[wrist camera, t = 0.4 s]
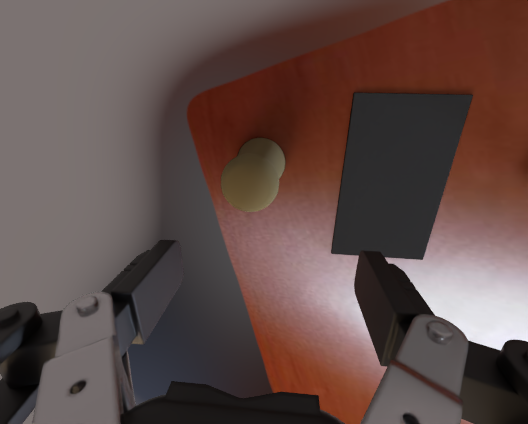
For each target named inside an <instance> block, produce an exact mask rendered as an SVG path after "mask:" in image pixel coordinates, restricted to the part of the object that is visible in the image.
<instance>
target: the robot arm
mask: <svg viewBox="0 0 528 424" xmlns="http://www.w3.org/2000/svg"><path fill="white" fill-rule="evenodd" d="M183 275H184V268H183V261H182V254H181V247H180V243H179V241H174V240H160V241H159V242H158V243H157V244H156V245H155V246H154V247H153V248H152V249H151V250H147V251H146V252H144V253H142V254H140V255H138V256H137V257H136V258H135V259H134V260H133V261H132V262H131V263H130V265H128V266H127V267H126V268H125V269H124V271H122V272H121V273H120V274H119V275H118V276H117V277H116V278H115V279H114V280H113V281H112V282H111V283H110V284H109V285H108V286H106V287H105V288H104V289H103V290H102V291H101V292H93V293H89V294H86V295H83V296H81V297H79V298H77V299H75V300H73V301H72V302H71V303H69V304H68V305H67V306H66V307H65V308H64V310H62V311H56V312H50V313H44V314H40V313H39V311H38V309H37V306H36V305H35V304H34V303H31V302H22V303H16V304H13V305H9V306H7V307H4V308H1V309H0V374H1V376H2V379H1V380H0V424H22V423H23V422H24V421H25V419H26V418H27V417H28V416H29V414H30V413H31V412H32V411H33V409H34V408H35V410H34V416H33V421H32V424H345V423H343V422H342V421H340V420H339V419H338V418H336V417H335V416H333V415H331V414H329V413H327V412H325V411H323V410H320V406H319V396H318V395H308V394H298V393H288V392H277V393H272V394H266V395H261V396H255V397H250V398H238V397H235V396H233V395H231V394H228V393H226V392H223V391H221V390H218V389H216V388H214V387H211V386H209V385H206V384H195V383H185V382H175V381H172V382H171V384H170V386H169V389H168V391H167V393H166V395H161V396H158V397H155V398H152V399H149V400H147V401H145V402H143V403H141V404H139V405H137V406H136V404H135V399H134V392H133V385H132V379H131V371H130V364H129V357H128V353H127V349H128V348H129V346H130V345H131V343H133V344H144V343H145V342H146V340H147V338H148V337H149V335H150V334H151V332H152V330H153V328H154V327H155V325H156V324H157V322H158V320H159V319H160V317H161V315H162V314H163V312H164V310H165V309H166V307H167V306H168V304H169V302H170V301H171V299H172V297H173V296H174V294H175V292H176V291H177V289H178V288H179V286H180V284H181V282H182V280H183ZM354 288H355V295H356V298H357V300H358V303H359V306H360V309H361V312H362V314H363V317H364V320H365V323H366V326H367V328H368V331H369V334H370V337H371V339H372V342H373V345H374V348H375V351H376V353H377V356H378V359H379V362H380V365H381V366H388V367H387V369H386V371H385V373H384V376H383V378H382V380H381V382H380V384H379V386H378V388H377V390H376V392H375V394H374V396H373V398H372V401H371V403H370V405H369V407H368V409H367V411H366V413H365V415H364V417H363V419H362V421H361V423H360V424H460V422H461V419H464V420H466V421H469V422H471V423H474V424H528V342H526V341H522V340H509V341H507V342H505V344H504V346H503V348H502V350H501V351H500V350H497V349H494V348H490V347H487V346H484V345H480V344H477V343H474V342H471V341H468V340H467V338H466V336H465V335H464V333H463V332H462V331H461V330H460V329H459V328H457V327H456V326H455V325H454V324H452V323H450V322H449V321H447V320H445V319H443V318H440V317H437V316H435V315H434V313H433V312H432V311H431V309H430V308H429V306H428V305H427V304H426V302H425V301H424V299H423V298H422V296H421V295H420V294H419V292H418V291H417V290H416V288H415V286H414V285H413V284H412V282H410V279H409V278H408V277H407V275H406V274H405V272H404V271H402V270H401V269H400V268H398V267H397V266H396V265H394V264H388V262H387V261H386V259H385V258H384V256H383V255H382V253H381V252H380V251H361V252H360V254H359V259H358V264H357V270H356V276H355V282H354Z"/></svg>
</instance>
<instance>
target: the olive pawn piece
mask: <svg viewBox="0 0 528 424" xmlns="http://www.w3.org/2000/svg"><path fill="white" fill-rule="evenodd" d="M284 168H285V157H284V154H283V152H282V150H281V148H280V147H279V146H278V145H277V144H276V143H275V142H274V141H271V140H269V139H267V138H255V139H251V140H249V141H248V142H246V143H245V144H244V145H243V146H242V147H241V148H240V150H239V153H238V155H237V157H235V158H234V159H232V160H231V161H230V162H229V163H228V164H227V165H226V166H225V168H224V170H223V173H222V175H221V188H222V192H223V195H224V197H225V198H226V200H227V201H228V202H229V203H230V204H231V205H232V206H233V207H235V208H237V209H239V210H241V211H246V212H255V211H260V210H262V209H264V208H266V207H267V206H268V205H269V204H270V203H271V202H272V201H273V200H274V199H275V197H276V195H277V193H278V188H279V178H280V177H281V175H282V173H283V171H284Z"/></svg>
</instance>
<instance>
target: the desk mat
mask: <svg viewBox="0 0 528 424" xmlns="http://www.w3.org/2000/svg"><path fill="white" fill-rule="evenodd" d="M472 97H473V95H452V94H397V93H354V95H353V102H352V109H351V116H350V123H349V130H348V137H347V145H346V152H345V159H344V166H343V173H342V180H341V187H340V194H339V201H338V208H337V215H336V222H335V229H334V236H333V243H332V250H331V253H332V254H344V255H359V254H360V252H361V251H380V252H381V253H382V255H383V256H384V257H389V258H404V259H420V260H423V257H424V254H425V251H426V247H427V244H428V241H429V237H430V234H431V231H432V228H433V224H434V221H435V218H436V214H437V211H438V208H439V205H440V201H441V198H442V195H443V192H444V188H445V185H446V182H447V178H448V175H449V172H450V169H451V165H452V162H453V159H454V156H455V152H456V149H457V146H458V142H459V139H460V136H461V133H462V129H463V126H464V123H465V120H466V116H467V113H468V110H469V106H470V103H471V100H472Z"/></svg>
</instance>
